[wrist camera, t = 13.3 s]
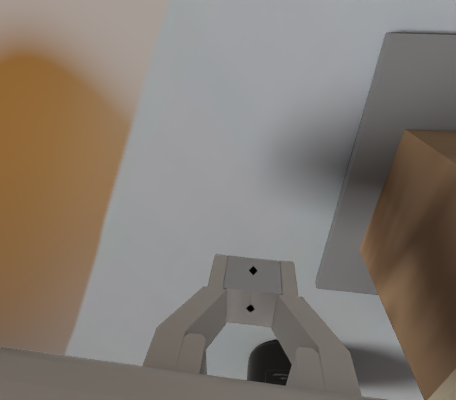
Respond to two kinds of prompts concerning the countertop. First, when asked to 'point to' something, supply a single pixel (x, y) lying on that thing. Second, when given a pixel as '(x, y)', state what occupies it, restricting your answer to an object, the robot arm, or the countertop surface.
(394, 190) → the slab
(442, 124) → the mat
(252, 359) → the supplement bottle
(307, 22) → the countertop surface
